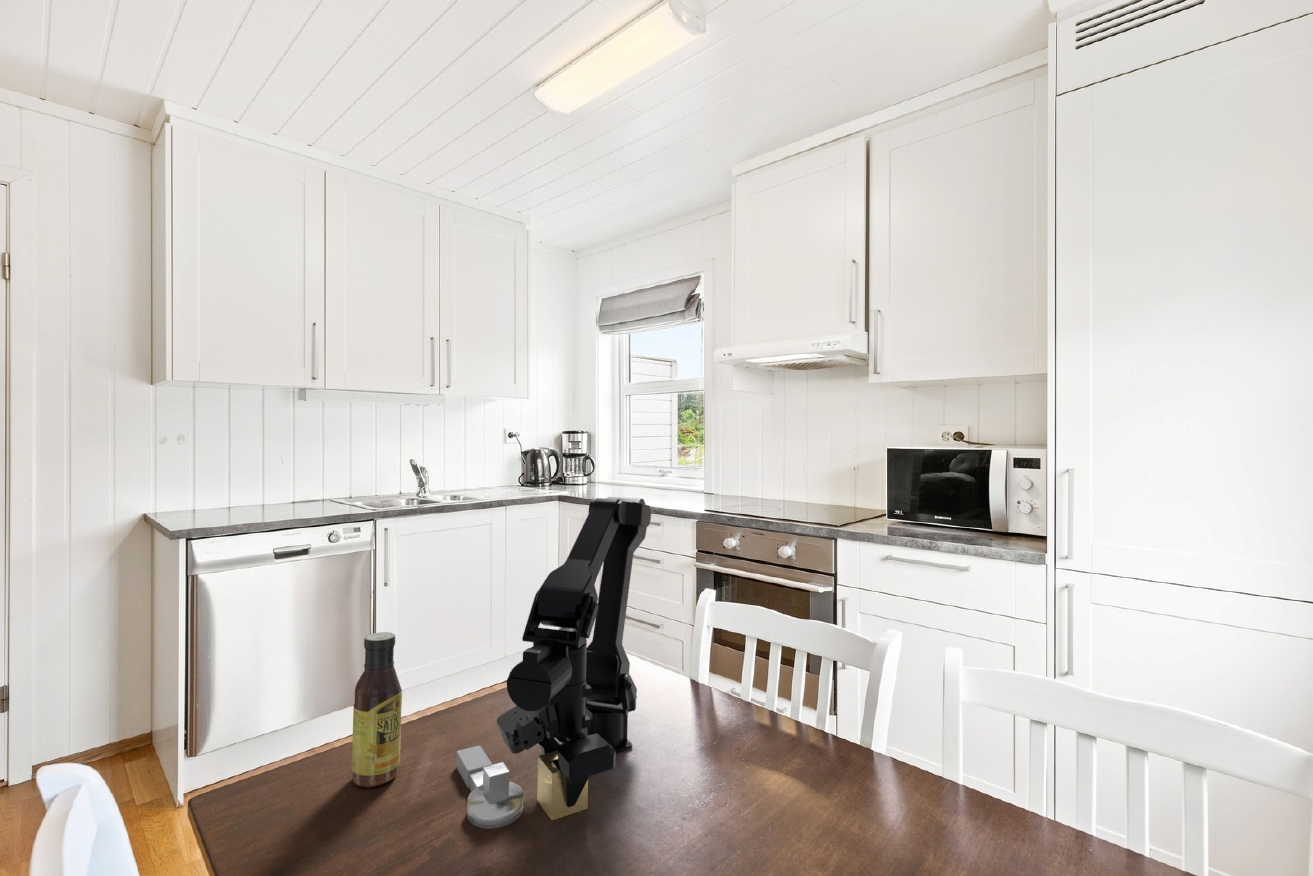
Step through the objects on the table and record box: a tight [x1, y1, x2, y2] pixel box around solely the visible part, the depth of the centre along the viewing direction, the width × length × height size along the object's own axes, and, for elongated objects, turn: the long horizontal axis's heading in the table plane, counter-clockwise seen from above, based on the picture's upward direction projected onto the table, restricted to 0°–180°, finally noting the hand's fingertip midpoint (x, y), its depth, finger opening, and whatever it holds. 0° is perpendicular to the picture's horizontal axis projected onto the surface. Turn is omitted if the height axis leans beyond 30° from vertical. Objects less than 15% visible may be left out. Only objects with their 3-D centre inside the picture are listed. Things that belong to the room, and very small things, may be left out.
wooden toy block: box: [536, 750, 589, 821], centre depth 83 cm, size 5×5×6 cm
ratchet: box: [455, 745, 524, 830], centre depth 85 cm, size 16×7×6 cm, turn 32°
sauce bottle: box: [350, 631, 403, 788], centre depth 88 cm, size 7×6×20 cm
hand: (562, 795), depth 83 cm, fingers closed on wooden toy block, 5 cm apart
